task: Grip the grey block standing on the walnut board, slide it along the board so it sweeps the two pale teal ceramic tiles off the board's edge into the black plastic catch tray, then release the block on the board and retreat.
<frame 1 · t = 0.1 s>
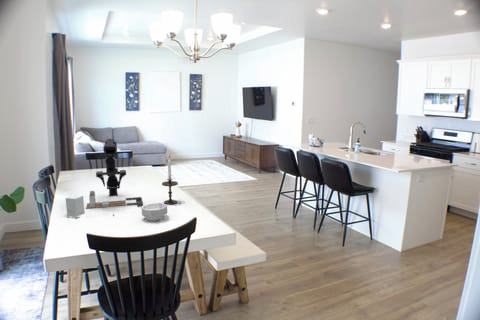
hand: (111, 186, 242), 15 cm above the table, fingers open, 9 cm apart
tile a: (105, 203, 247), point 1 cm above the table, touching board
board: (106, 206, 245), on the table
supplement box: (76, 216, 225), on the table
catch tray: (134, 204, 251), on the table
candlestick: (170, 203, 255), on the table
tile b: (105, 205, 243), point 1 cm above the table, touching board
grey block: (92, 205, 242), point 1 cm above the table, touching board
paper bowls: (154, 218, 222), on the table
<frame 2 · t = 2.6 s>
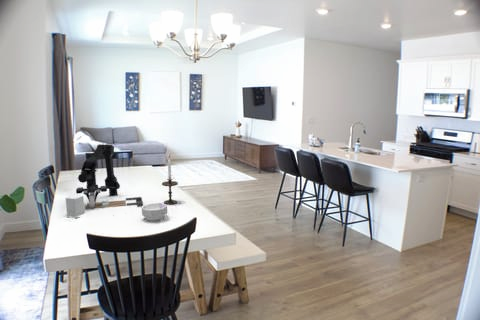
hand: (92, 202, 242), 4 cm above the table, fingers closed on grey block, 3 cm apart
grey block: (92, 205, 242), point 1 cm above the table, touching board, gripper
everything else where it was.
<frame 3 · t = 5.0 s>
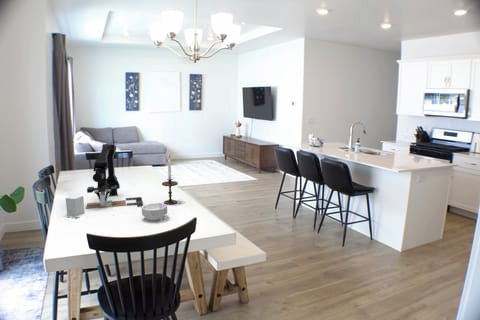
hand: (103, 201, 244), 4 cm above the table, fingers closed on grey block, 3 cm apart
tile a: (108, 203, 248), point 2 cm above the table, touching board, grey block
tile b: (108, 205, 243), point 2 cm above the table, touching grey block
grey block: (103, 204, 245), point 2 cm above the table, touching gripper, tile a, tile b
everything else where it was.
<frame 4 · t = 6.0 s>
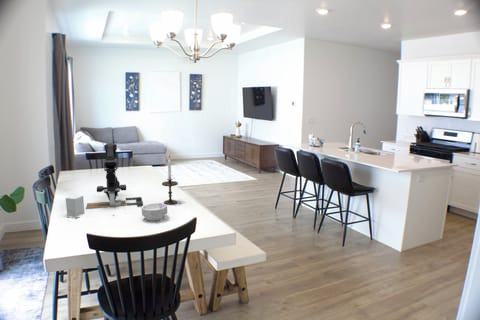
hand: (112, 200, 246), 4 cm above the table, fingers closed on grey block, 3 cm apart
tile a: (117, 202, 250), point 2 cm above the table
tile b: (117, 204, 245), point 2 cm above the table, touching board
grey block: (112, 203, 246), point 2 cm above the table, touching gripper
everything else where it was.
when the fingers open (4 cm above the table, at t = 10.4 s): grey block stays where it is, resting on board.
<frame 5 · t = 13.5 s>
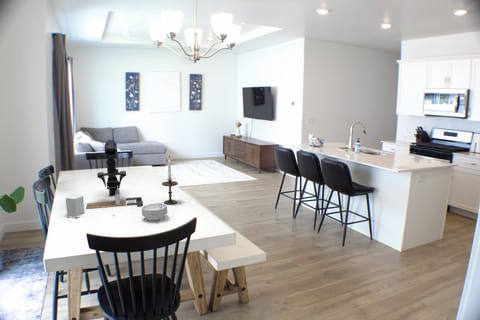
hand: (112, 186, 252), 12 cm above the table, fingers open, 9 cm apart
tile a: (131, 203, 253), resting on catch tray
tile b: (131, 205, 247), resting on catch tray
grey block: (118, 203, 248), point 1 cm above the table, touching board
everything else where it was.
at the end: tile a inside the target area (3.3 cm from its centre), resting on catch tray; tile b inside the target area (4.1 cm from its centre), resting on catch tray; the gripper is holding nothing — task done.
